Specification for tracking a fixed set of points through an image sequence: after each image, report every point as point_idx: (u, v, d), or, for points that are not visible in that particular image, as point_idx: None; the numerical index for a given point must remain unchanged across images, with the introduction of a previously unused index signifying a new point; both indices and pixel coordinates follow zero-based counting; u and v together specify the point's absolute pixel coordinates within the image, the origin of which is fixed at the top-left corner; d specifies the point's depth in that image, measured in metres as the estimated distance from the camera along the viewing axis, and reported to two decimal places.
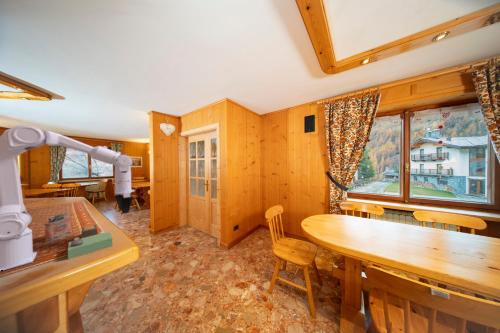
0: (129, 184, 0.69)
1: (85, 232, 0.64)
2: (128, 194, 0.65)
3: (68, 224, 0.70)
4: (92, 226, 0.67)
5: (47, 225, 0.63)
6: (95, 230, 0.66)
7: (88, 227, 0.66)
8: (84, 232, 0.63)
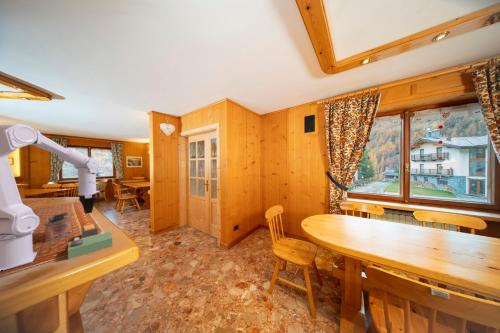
0: (93, 185, 0.72)
1: (85, 232, 0.64)
2: (90, 195, 0.68)
3: (68, 224, 0.70)
4: (92, 226, 0.67)
5: (47, 225, 0.63)
6: (95, 230, 0.66)
7: (88, 227, 0.66)
8: (84, 232, 0.63)
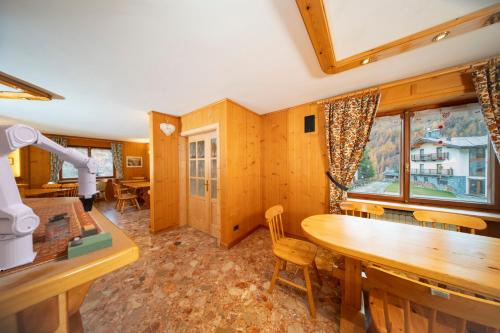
0: (93, 185, 0.72)
1: (86, 232, 0.64)
2: (90, 195, 0.68)
3: (68, 224, 0.70)
4: (92, 226, 0.67)
5: (47, 225, 0.63)
6: (96, 230, 0.66)
7: (88, 227, 0.66)
8: (85, 232, 0.63)
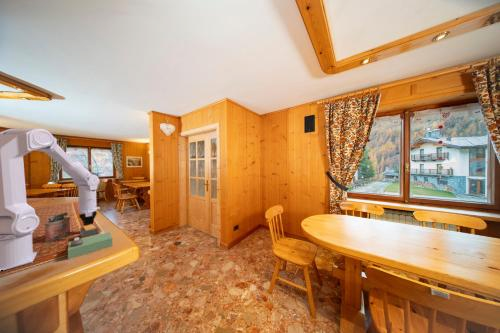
0: (93, 202, 0.72)
1: (86, 232, 0.64)
2: (90, 213, 0.68)
3: (68, 224, 0.70)
4: (92, 226, 0.67)
5: (47, 225, 0.63)
6: (96, 230, 0.66)
7: (88, 227, 0.66)
8: (85, 232, 0.64)
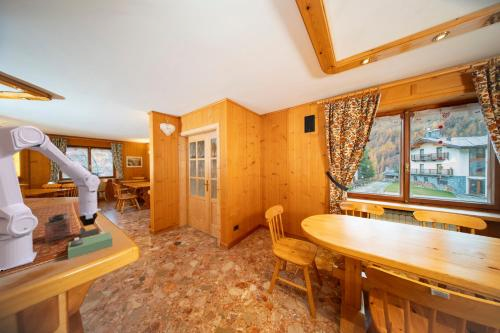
0: (94, 204, 0.69)
1: (87, 232, 0.63)
2: (91, 215, 0.65)
3: (68, 224, 0.70)
4: (92, 226, 0.66)
5: (47, 225, 0.63)
6: (96, 230, 0.65)
7: (89, 227, 0.65)
8: (86, 232, 0.63)
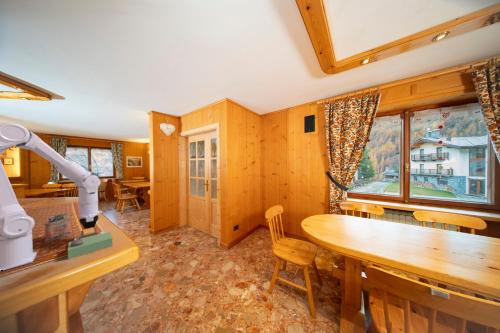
0: (95, 206, 0.66)
1: (84, 236, 0.59)
2: (92, 218, 0.61)
3: (68, 224, 0.70)
4: (92, 230, 0.63)
5: (47, 225, 0.63)
6: (95, 234, 0.61)
7: (88, 231, 0.62)
8: (83, 236, 0.59)
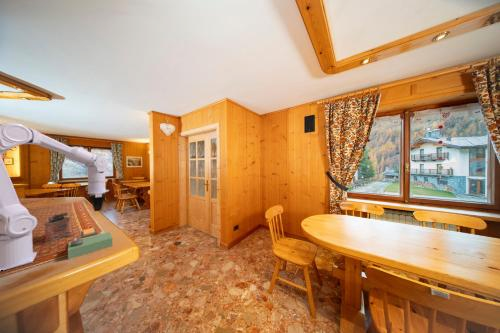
0: (103, 184, 0.71)
1: (84, 237, 0.59)
2: (100, 194, 0.67)
3: (68, 224, 0.70)
4: (92, 230, 0.63)
5: (47, 225, 0.63)
6: (95, 234, 0.61)
7: (88, 231, 0.62)
8: (83, 237, 0.59)
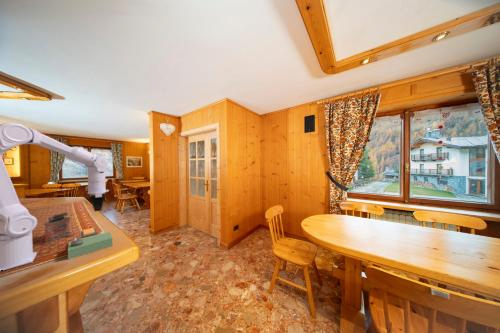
0: (103, 184, 0.71)
1: (84, 237, 0.59)
2: (100, 194, 0.67)
3: (68, 224, 0.70)
4: (92, 230, 0.63)
5: (47, 225, 0.63)
6: (95, 234, 0.61)
7: (88, 231, 0.62)
8: (83, 237, 0.59)
